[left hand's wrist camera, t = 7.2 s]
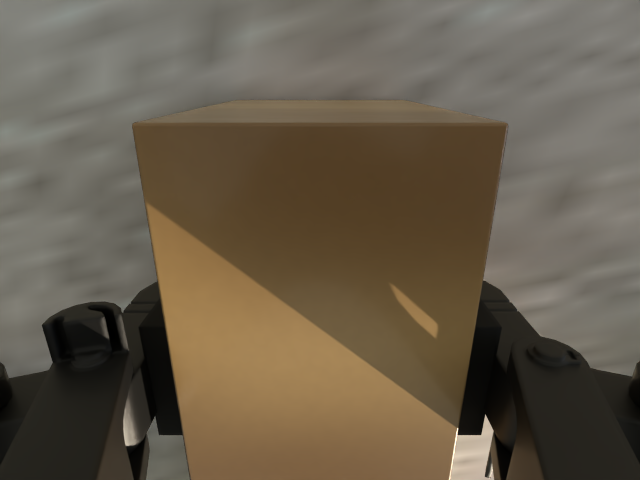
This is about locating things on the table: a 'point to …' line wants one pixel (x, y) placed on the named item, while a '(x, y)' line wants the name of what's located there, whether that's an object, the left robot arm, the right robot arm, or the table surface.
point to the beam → (320, 281)
